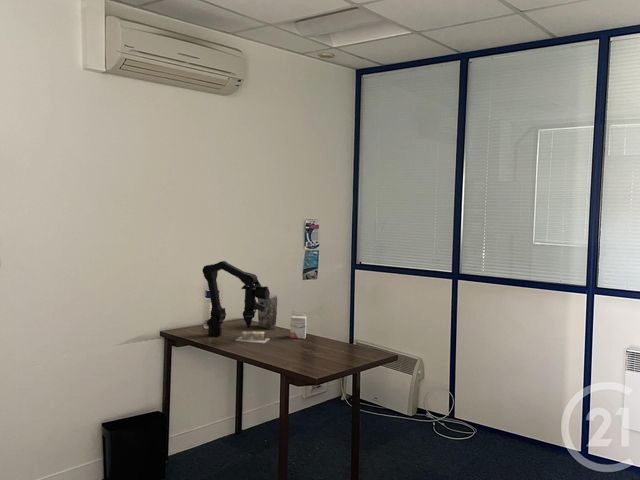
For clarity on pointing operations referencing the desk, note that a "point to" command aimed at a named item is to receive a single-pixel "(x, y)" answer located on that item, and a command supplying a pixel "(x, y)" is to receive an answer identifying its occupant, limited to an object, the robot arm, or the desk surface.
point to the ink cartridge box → (298, 324)
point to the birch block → (253, 335)
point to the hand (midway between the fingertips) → (249, 326)
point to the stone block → (268, 313)
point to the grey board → (253, 340)
